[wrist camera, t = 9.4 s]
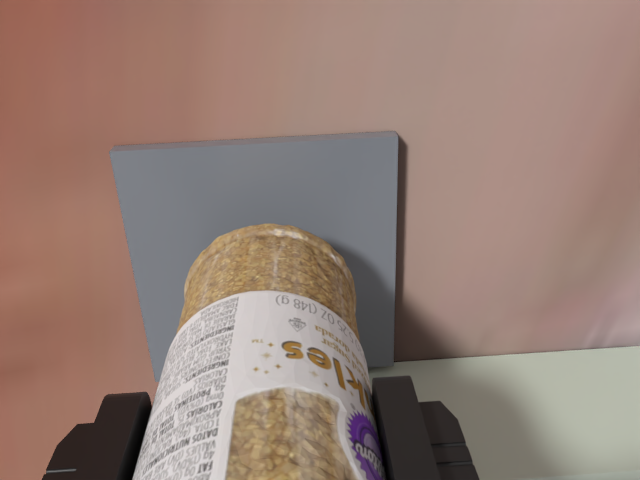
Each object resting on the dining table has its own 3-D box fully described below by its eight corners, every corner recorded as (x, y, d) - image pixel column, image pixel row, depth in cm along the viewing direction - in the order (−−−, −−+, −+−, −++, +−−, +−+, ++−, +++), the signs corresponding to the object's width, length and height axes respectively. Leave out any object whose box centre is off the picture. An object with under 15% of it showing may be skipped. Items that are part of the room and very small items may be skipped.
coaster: (395, 131, 16) (398, 136, 16) (390, 356, 20) (393, 365, 19) (114, 146, 16) (109, 151, 16) (158, 371, 19) (155, 381, 19)
